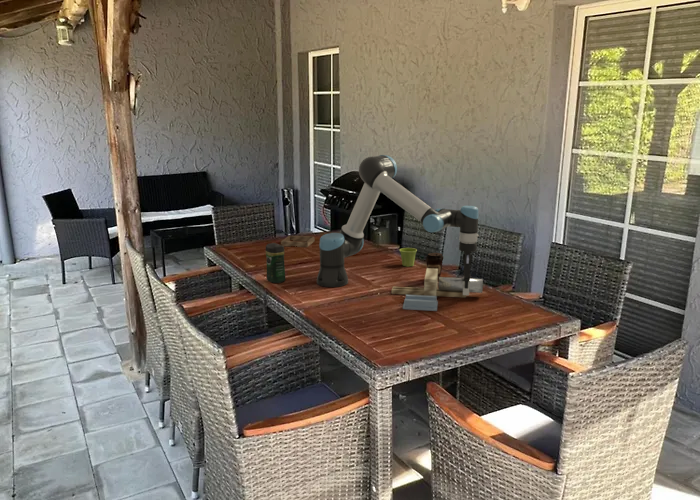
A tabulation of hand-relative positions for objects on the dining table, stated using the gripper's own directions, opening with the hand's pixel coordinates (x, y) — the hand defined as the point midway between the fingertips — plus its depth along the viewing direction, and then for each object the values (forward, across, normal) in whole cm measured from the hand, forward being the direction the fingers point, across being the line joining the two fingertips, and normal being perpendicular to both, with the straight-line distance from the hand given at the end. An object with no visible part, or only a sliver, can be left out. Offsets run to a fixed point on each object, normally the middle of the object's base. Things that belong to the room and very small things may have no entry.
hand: (465, 292), depth 248 cm
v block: (+2, -17, +19) cm, 25 cm away
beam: (+2, 0, +15) cm, 15 cm away
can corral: (+2, +90, +103) cm, 137 cm away
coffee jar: (+2, +9, +91) cm, 91 cm away
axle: (-3, 0, +2) cm, 4 cm away
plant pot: (+2, +48, +30) cm, 56 cm away
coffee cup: (+2, +23, +15) cm, 27 cm away
